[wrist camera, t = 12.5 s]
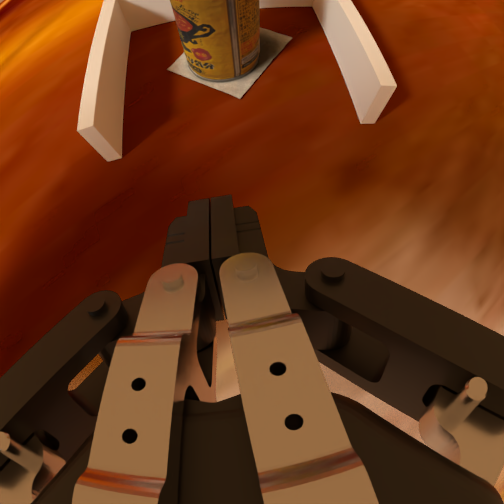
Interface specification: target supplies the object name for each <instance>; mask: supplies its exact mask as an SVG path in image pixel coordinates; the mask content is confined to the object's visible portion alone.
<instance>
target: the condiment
mask: <svg viewBox="0 0 504 504" xmlns="http://www.w3.org/2000/svg"><path fill="white" fill-rule="evenodd" d="M170 3H171V6H172V9H173V13H174V17H175V20H176V24H177V27H178V31H179V35H180V39H181V41H182V46H183V49H184V53H183V54H182V55H181V56H180V57H179V58H178V59H177V60H176V61H175V62H174V63H173V64H172V65H171V66H170V67H169V68H167V70H169V71H172V72H174V73H177V74H179V75H182V76H184V77H187V78H189V79H192V80H194V81H197V82H199V83H202V84H205V85H207V86H210V87H212V88H215V89H217V90H220V91H223V92H225V93H228V94H230V95H232V96H235V97H237V98H239V99H240V98H241V97H242V96H243V95H244V93H245V92H246V91H247V90H248V89H249V88H250V87H251V85H252V84H253V83H254V82H255V80H256V79H257V78H258V77H259V76H260V75H261V74H262V72H263V71H264V70H265V69H266V67H267V66H268V65H269V64H270V63H271V61H272V60H273V59H274V58H275V57H276V56H277V55H278V53H279V52H280V51H281V50H282V49H283V48H284V47H285V45H286V44H287V43H288V42H289V41H290V40H291V39H292V37H289V36H286V35H282V34H279V33H276V32H273V31H271V30H267V29H264V28H261V27H260V8H259V7H260V4H259V0H170Z"/></svg>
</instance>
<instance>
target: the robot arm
mask: <svg viewBox="0 0 504 504" xmlns="http://www.w3.org/2000/svg"><path fill="white" fill-rule="evenodd" d="M223 309H224V313H225V317H226V319H227V320H228V325H229V328H228V331H229V337H230V342H231V347H232V353H233V358H234V363H235V368H236V373H237V378H238V383H239V388H240V393H241V394H239V395H236V396H234V397H231V398H228V399H225V400H222V401H219V402H217V401H216V365H217V338H216V321H219V320H224V313H223ZM97 354H99V355H100V357H101V358H102V359H103V362H102V363H101V364H100V365H99V366H98V367H97V368H96V369H95V370H94V371H93V372H92V373H91V374H90V375H89V376H88V377H87V378H86V379H85V380H84V381H83V382H82V383H81V384H80V385H79V386H78V387H77V388H76V389H74V390H72V391H68V385H69V383H70V382H71V380H72V379H73V378H74V377H75V376H76V375H77V374H78V373H79V372H80V371H81V370H82V369H83V368H84V367H85V366H86V365H87V364H88V363H89V362H90V361H91V360H92V359H93V358H94V357H95V356H96V355H97ZM318 361H319V362H320V363H322V364H324V365H325V366H327V367H328V368H330V369H331V370H333V371H335V372H336V373H338V374H339V375H341V376H343V377H344V378H346V379H347V380H349V381H351V382H352V383H354V384H356V385H357V386H359V387H361V388H362V389H364V390H365V391H367V392H369V393H370V394H372V395H374V396H375V397H377V398H379V399H380V400H382V401H384V402H386V403H387V404H389V405H391V406H392V407H394V408H396V409H398V410H399V411H401V412H403V413H404V414H406V415H408V416H410V417H411V418H413V419H415V420H417V421H418V422H419V432H420V436H421V438H422V440H423V441H424V443H425V444H426V445H427V446H426V445H424V444H423V443H421V442H419V441H418V440H416V439H415V438H413V437H411V436H410V435H408V434H407V433H405V432H403V431H402V430H400V429H399V428H397V427H396V426H394V425H392V424H391V423H389V422H388V421H386V420H385V419H383V418H382V417H380V416H378V415H377V414H375V413H374V412H372V411H371V410H369V409H368V408H366V407H365V406H363V405H362V404H360V403H358V402H356V401H354V400H352V399H350V398H348V397H345V396H343V395H340V394H336V393H332V392H330V390H329V387H328V385H327V382H326V379H325V377H324V374H323V372H322V369H321V367H320V364H319V362H318ZM428 446H429V447H430V448H429V447H428ZM431 448H432V449H431ZM503 465H504V336H502V335H501V334H499V333H497V332H495V331H493V330H491V329H489V328H487V327H485V326H483V325H481V324H479V323H477V322H475V321H473V320H471V319H469V318H467V317H465V316H463V315H461V314H459V313H457V312H455V311H453V310H451V309H449V308H447V307H445V306H443V305H441V304H439V303H437V302H434V301H432V300H430V299H428V298H426V297H424V296H422V295H420V294H418V293H416V292H414V291H412V290H410V289H407V288H405V287H403V286H401V285H399V284H397V283H395V282H393V281H391V280H388V279H386V278H384V277H382V276H380V275H378V274H376V273H373V272H371V271H369V270H367V269H365V268H363V267H360V266H358V265H356V264H354V263H352V262H350V261H347V260H345V259H341V258H335V257H328V258H322V259H319V260H316V261H314V262H313V263H311V264H310V265H309V266H308V267H307V269H306V271H305V272H293V271H287V270H283V269H280V268H278V267H276V266H275V265H274V264H272V262H271V260H270V259H269V258H268V255H267V251H266V247H265V243H264V240H263V236H262V232H261V228H260V224H259V220H258V216H257V213H256V212H255V211H254V210H253V209H252V208H251V207H249V206H244V207H238V208H233V202H232V196H231V195H225V196H219V197H213V198H211V202H210V199H209V198H207V199H201V200H195V201H189V203H188V211H187V216H183V217H177V218H175V220H174V221H173V222H172V223H171V224H170V226H169V228H168V233H167V238H166V245H165V249H164V255H163V260H162V266H161V269H159V270H157V271H156V272H155V273H154V274H153V275H152V276H151V277H150V279H149V281H148V283H147V287H146V290H145V292H143V293H141V294H139V295H137V296H134V297H132V298H129V299H126V300H124V301H121V299H120V297H119V295H118V294H117V293H115V292H113V291H107V290H105V291H99V292H96V293H94V294H92V295H90V296H88V297H87V298H86V299H84V300H83V301H82V302H81V303H80V304H79V305H77V306H76V307H75V308H74V309H73V310H72V311H71V312H70V313H68V314H67V315H66V316H65V317H64V318H63V319H62V320H61V321H60V322H58V323H57V324H56V325H55V326H54V327H53V328H52V329H51V330H50V331H49V332H48V333H46V334H45V335H44V336H43V337H42V338H41V339H40V340H39V341H38V342H37V343H36V344H35V345H34V346H33V347H32V348H31V349H30V350H28V351H27V352H26V353H25V354H24V355H23V356H22V357H21V358H20V359H19V360H18V361H17V362H16V363H15V364H14V365H13V366H12V367H11V368H10V369H9V370H8V371H7V372H6V373H5V374H4V375H3V376H2V377H1V378H0V504H504V503H503V501H502V498H501V496H500V494H499V493H498V492H497V490H496V489H495V488H494V485H495V483H496V481H497V479H498V477H499V475H500V472H501V470H502V468H503Z"/></svg>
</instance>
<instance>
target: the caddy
mask: <svg viewBox="0 0 504 504" xmlns="http://www.w3.org/2000/svg"><path fill="white" fill-rule="evenodd" d="M259 4H260V7H259V8H272V7H306V6H309V7H313V9H314V11H315V13H316V15H317V17H318V20H319V22H320V24H321V26H322V28H323V30H324V32H325V35H326V37H327V39H328V41H329V43H330V46H331V48H332V50H333V53H334V55H335V57H336V60H337V62H338V65H339V67H340V69H341V72H342V74H343V77H344V80H345V82H346V85H347V87H348V90H349V93H350V95H351V98H352V101H353V104H354V106H355V109H356V112H357V115H358V118H359V121H360V124H374V123H375V122H376V120H377V119H378V117H379V115H380V114H381V112H382V110H383V109H384V107H385V106H386V104H387V102H388V101H389V99H390V97H391V96H392V94H393V92H394V91H395V89H396V87H397V85H396V83H395V80H394V78H393V76H392V74H391V72H390V70H389V68H388V66H387V64H386V62H385V60H384V58H383V56H382V54H381V52H380V50H379V48H378V46H377V44H376V42H375V40H374V39H373V37H372V35H371V33H370V31H369V30H368V28H367V26H366V24H365V23H364V21H363V19H362V17H361V16H360V14H359V12H358V11H357V9H356V8H355V6H354V4H353V3H352V1H351V0H259ZM171 21H175V17H174V13H173V9H172V6H171V3H170V0H104V2H103V6H102V9H101V12H100V16H99V19H98V23H97V27H96V30H95V34H94V38H93V42H92V47H91V51H90V55H89V60H88V65H87V70H86V75H85V80H84V86H83V92H82V98H81V105H80V111H79V119H78V127H77V131H78V132H79V133H80V134H81V135H82V136H83V137H84V138H85V139H86V140H87V141H88V142H89V143H90V144H91V145H92V146H93V147H94V148H95V149H96V150H97V151H98V152H99V153H100V154H101V155H102V156H103V157H104V158H105V159H106V160H107V161H112V160H116V159H120V158H122V131H123V109H124V94H125V81H126V70H127V61H128V52H129V44H130V36H131V32H132V31H135V30H139V29H142V28H146V27H150V26H154V25H158V24H162V23H166V22H171Z"/></svg>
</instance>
